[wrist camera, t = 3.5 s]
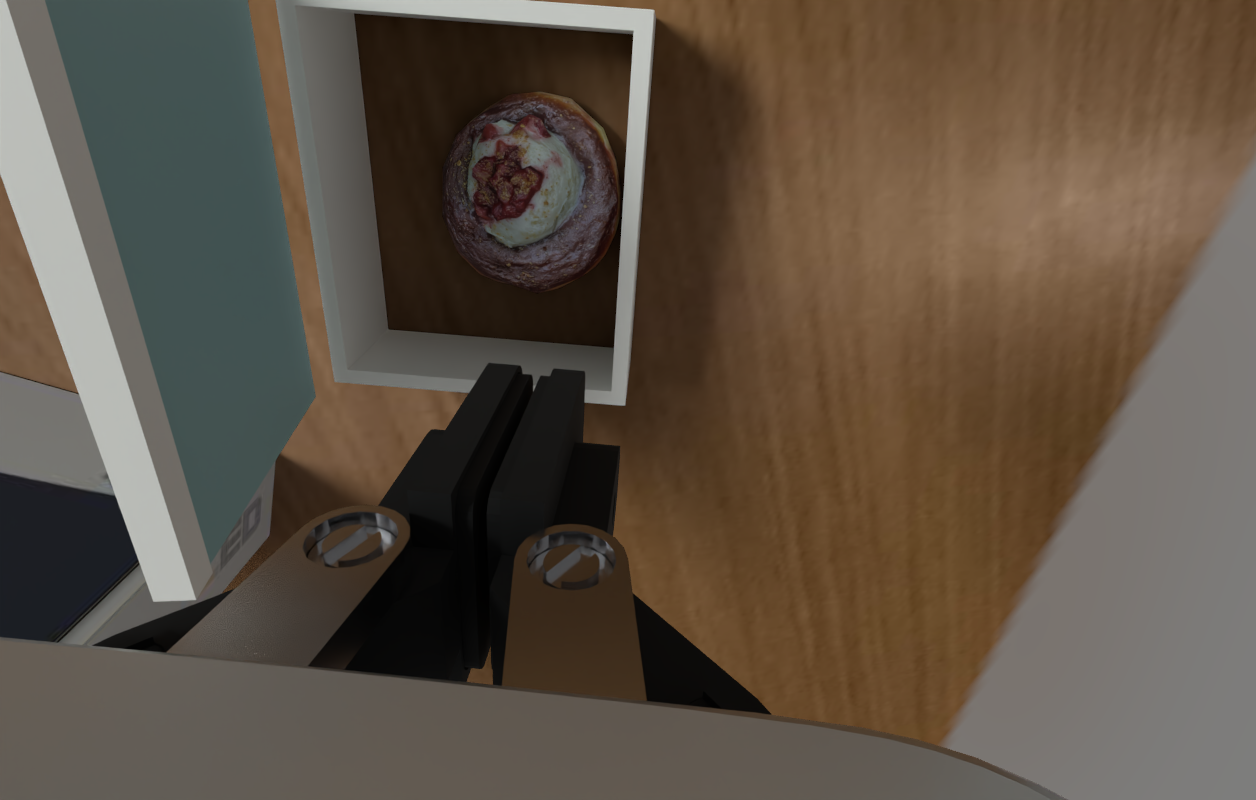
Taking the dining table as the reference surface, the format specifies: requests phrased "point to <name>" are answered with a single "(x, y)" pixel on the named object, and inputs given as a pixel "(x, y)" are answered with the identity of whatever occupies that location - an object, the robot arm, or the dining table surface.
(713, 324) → the dining table surface
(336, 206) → the box
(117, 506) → the packaging
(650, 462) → the dining table surface
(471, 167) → the pastry
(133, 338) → the lid
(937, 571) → the dining table surface
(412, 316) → the dining table surface
